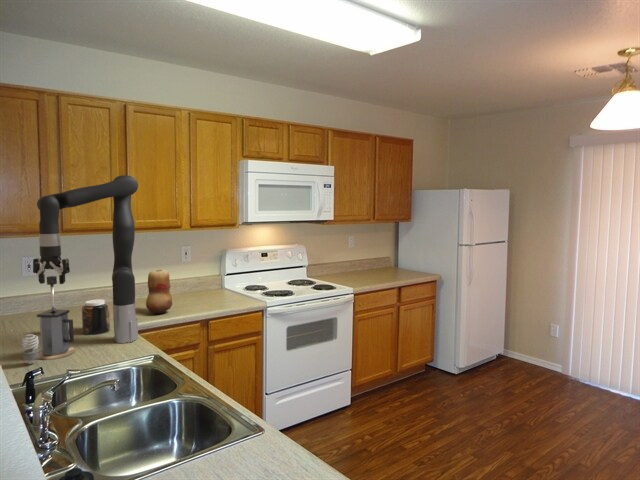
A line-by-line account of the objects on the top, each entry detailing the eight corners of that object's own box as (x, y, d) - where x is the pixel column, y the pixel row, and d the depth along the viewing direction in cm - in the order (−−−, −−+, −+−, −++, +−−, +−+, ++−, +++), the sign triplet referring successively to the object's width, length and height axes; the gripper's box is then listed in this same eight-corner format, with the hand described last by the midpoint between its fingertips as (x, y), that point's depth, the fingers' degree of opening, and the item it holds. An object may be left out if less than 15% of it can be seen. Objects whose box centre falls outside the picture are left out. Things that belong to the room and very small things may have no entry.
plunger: (67, 322, 193) (64, 275, 191) (56, 326, 186) (54, 278, 184) (51, 321, 193) (49, 275, 192) (40, 326, 187) (38, 277, 185)
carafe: (80, 348, 195) (78, 309, 194) (66, 356, 186) (64, 315, 184) (52, 347, 196) (50, 309, 194) (36, 355, 187) (34, 315, 185)
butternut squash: (149, 317, 248) (148, 272, 246) (144, 312, 259) (142, 268, 257) (175, 314, 256) (174, 270, 253) (169, 309, 267) (167, 266, 264)
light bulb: (19, 365, 178) (17, 335, 177) (33, 360, 183) (31, 331, 182) (29, 367, 176) (28, 337, 175) (43, 362, 181) (41, 333, 180)
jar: (95, 336, 215) (94, 305, 214) (77, 333, 219) (75, 302, 218) (115, 329, 226) (113, 299, 225) (96, 326, 230) (95, 297, 229)
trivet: (81, 348, 197) (81, 347, 197) (60, 360, 184) (60, 358, 184) (50, 347, 199) (50, 346, 198) (27, 359, 185) (27, 357, 185)
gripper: (72, 243, 190) (74, 282, 191) (39, 243, 191) (41, 281, 192) (60, 245, 182) (62, 285, 184) (27, 245, 183) (29, 285, 185)
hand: (52, 283), depth 188 cm, fingers open, 8 cm apart
